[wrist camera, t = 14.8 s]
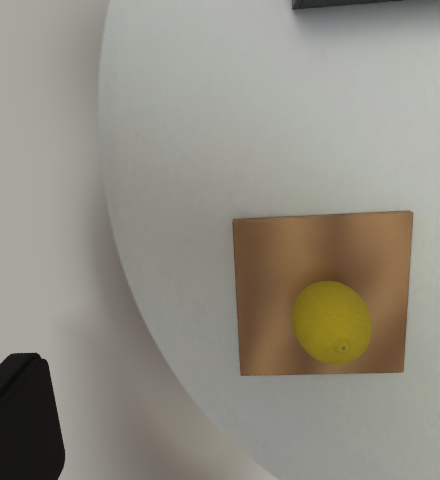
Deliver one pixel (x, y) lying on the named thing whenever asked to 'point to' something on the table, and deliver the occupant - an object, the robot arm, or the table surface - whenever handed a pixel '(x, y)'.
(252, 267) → the cork mat
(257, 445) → the table surface
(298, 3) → the black square frame
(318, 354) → the lemon
